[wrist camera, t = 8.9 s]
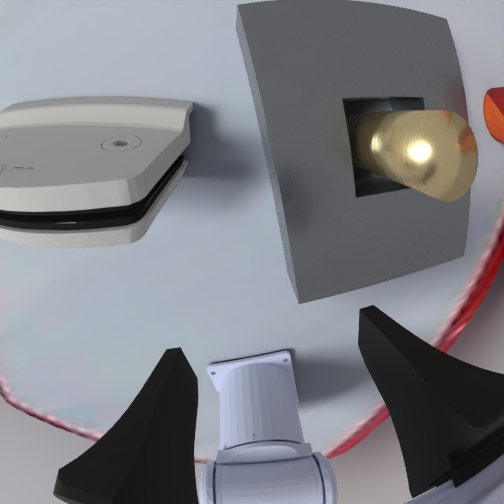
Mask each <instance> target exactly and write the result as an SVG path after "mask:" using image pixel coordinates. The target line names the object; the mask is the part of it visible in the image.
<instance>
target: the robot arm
mask: <svg viewBox="0 0 504 504" xmlns="http://www.w3.org/2000/svg"><path fill="white" fill-rule="evenodd" d="M358 346H359V348H360V351H361V354H362V357H363V359H364V362H365V365H366V367H367V369H368V371H369V372H370V374H371V376H372V378H373V380H374V382H375V384H376V386H377V388H378V390H379V392H380V394H381V396H382V398H383V400H384V402H385V404H386V406H387V408H388V410H389V413H390V415H391V418H392V421H393V424H394V427H395V430H396V433H397V437H398V440H399V443H400V447H401V451H402V455H403V458H404V463H405V467H406V472H407V478H408V482H409V490H410V493H411V496H412V498H414V497H416V496H418V495H421V494H423V493H425V492H426V491H429V490H431V489H432V488H434V487H436V488H435V489H433V490H431V491H429V492H427V493H426V494H424V495H422V496H420V497H418V498H415V499H413V500H411V501H409V502H407V503H405V504H504V374H500V373H496V372H492V371H489V370H485V369H482V368H479V367H476V366H473V365H471V364H468V363H466V362H463V361H461V360H458V359H456V358H454V357H452V356H450V355H448V354H446V353H444V352H442V351H440V350H438V349H437V348H435V347H433V346H431V345H430V344H428V343H426V342H425V341H423V340H422V339H420V338H419V337H417V336H415V335H414V334H413V333H411V332H410V331H408V330H407V329H405V328H404V327H403V326H401V325H400V324H398V323H397V322H396V321H394V320H393V319H392V318H390V317H389V316H388V315H386V314H385V313H384V312H382V311H381V310H380V309H378V308H377V307H375V306H374V305H372V306H368V307H365V308H362V309H360V313H359V336H358ZM286 358H287V359H286ZM207 372H208V374H209V376H210V377H211V379H212V381H213V383H214V385H215V387H216V389H217V391H218V392H219V394H220V450H217V451H216V461H208V462H207V464H206V465H205V466H204V467H203V468H202V470H201V474H200V504H336V502H337V482H336V477H335V473H334V470H333V467H332V465H331V463H330V461H329V460H328V459H327V458H326V457H325V456H323V455H322V454H321V453H320V452H314V453H312V449H311V444H310V443H306V444H305V442H304V438H303V433H302V428H301V424H300V419H299V414H298V410H297V405H296V404H298V403H299V400H298V395H297V389H296V383H295V378H294V372H293V366H292V361H291V356H290V352H289V351H281V352H276V353H271V354H267V355H262V356H256V357H251V358H246V359H240V360H234V361H229V362H222V363H216V364H210V365H208V366H207ZM197 408H198V380H197V377H196V375H195V373H194V371H193V370H192V368H191V366H190V364H189V362H188V360H187V359H186V357H185V355H184V353H183V351H182V349H181V347H179V348H172V349H167V350H166V351H165V353H164V354H163V356H162V357H161V359H160V361H159V362H158V364H157V365H156V367H155V369H154V370H153V372H152V373H151V375H150V377H149V378H148V380H147V381H146V383H145V384H144V386H143V388H142V389H141V391H140V392H139V394H138V395H137V396H136V398H135V399H134V401H133V402H132V403H131V405H130V406H129V408H128V409H127V410H126V411H125V413H124V414H123V415H122V416H121V418H120V419H119V420H118V421H117V422H116V423H115V424H114V426H113V427H112V428H111V429H110V430H109V431H108V432H107V433H106V434H105V435H104V436H103V437H102V438H101V439H99V440H98V441H97V442H96V443H95V444H94V445H93V446H92V447H91V448H89V449H88V450H87V451H86V452H84V453H83V454H82V455H80V456H79V457H78V458H76V459H75V460H73V461H72V462H70V463H68V464H67V465H65V466H64V467H62V468H60V469H59V472H58V475H57V479H56V484H55V488H54V492H53V494H54V496H55V497H57V498H59V499H60V500H62V501H64V502H66V503H68V504H199V503H198V496H197V489H196V478H195V465H194V441H195V430H196V419H197Z"/></svg>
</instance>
